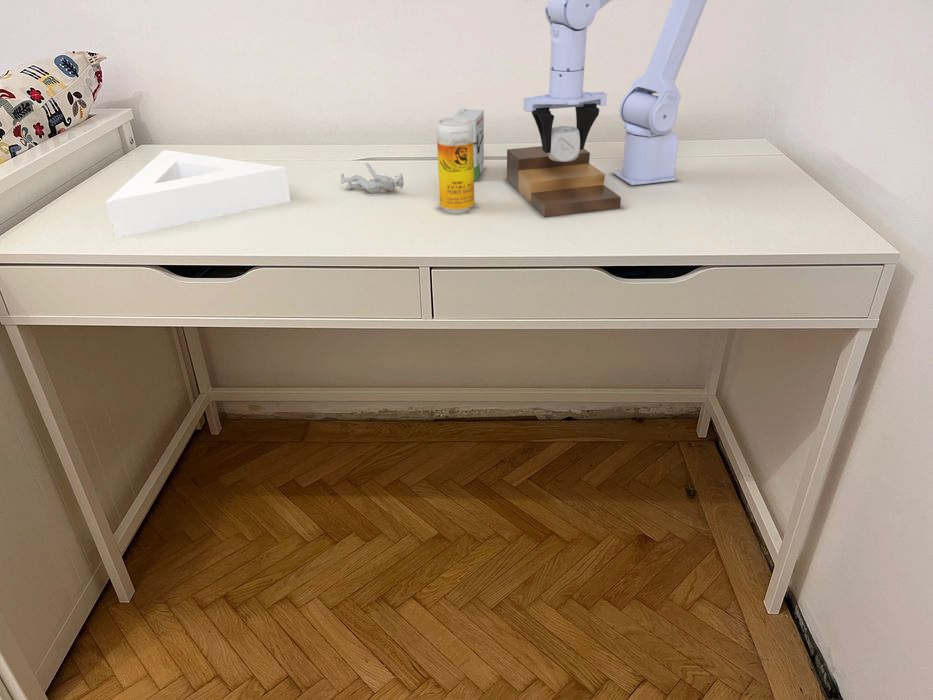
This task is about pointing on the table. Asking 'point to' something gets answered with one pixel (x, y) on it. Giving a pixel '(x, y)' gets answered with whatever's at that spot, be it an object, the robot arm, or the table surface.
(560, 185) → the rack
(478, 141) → the ink box
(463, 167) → the beer can
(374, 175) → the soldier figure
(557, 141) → the die
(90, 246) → the table surface
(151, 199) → the triangle block
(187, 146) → the table surface
